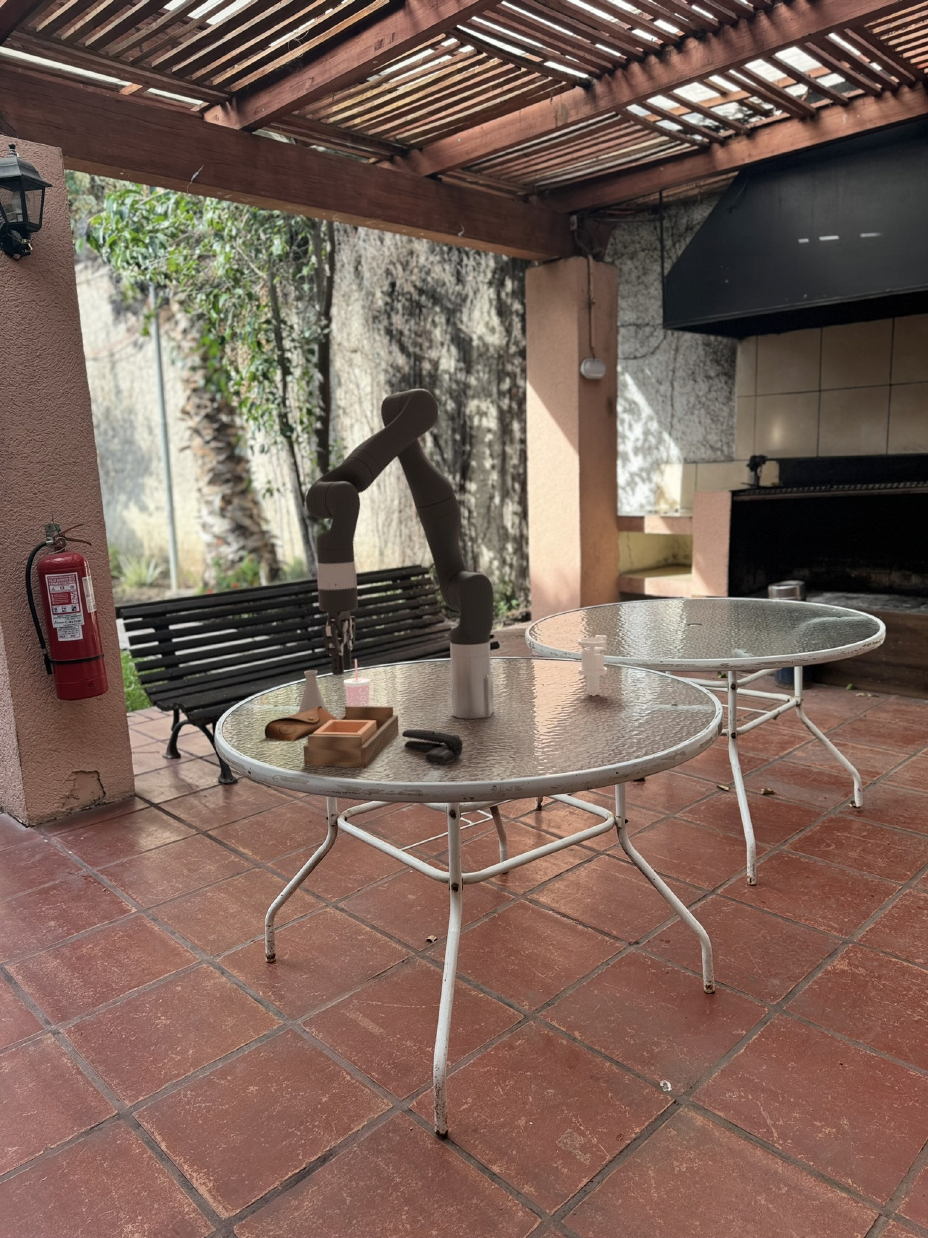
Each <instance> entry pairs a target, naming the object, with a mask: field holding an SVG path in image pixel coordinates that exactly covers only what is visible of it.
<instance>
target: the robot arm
mask: <svg viewBox="0 0 928 1238" xmlns="http://www.w3.org/2000/svg"><path fill="white" fill-rule="evenodd" d="M380 415H381V420H382V424H383V428H382V429H381V430H379V431H377V432H376V433H374V434H373V435H371V436H369V437H368V438H367V439H365V440H364V441H362V443H360V444H359V445H357V446H356V447H355V448H354V449H353V450H352V451H351V452H350V453H349V455H348V456H346V458H345V459H344V460H342V462H341V464H339V465H338V466H336V467H334V468H332V469H331V470H329V471H328V472H327V473H325V474H324V475H322V476H321V477H320V478H318V479H317V480H315V482H313V483H312V484H311V485H310V487H309V488H308V491H307V493H306V495H305V496H306V497H305V506H306V510H307V512H309V514H310V515H312V517H314V518H317V519H322V520H325V519H327V520H329V519H331V520H332V521H331V524H330V528H329V530H327V531H324V532H321V533H319V534H318V536H317V538H316V553H317V555H316V556H317V574H316V575H317V576H316V577H317V578H316V579H317V590H318V591H317V593H318V608H319V610H320V611H322V612H326V613H327V620H326V625H322V627H321V631H322V637H323V643H324V648H325V654H326V655H329V656H330V659H331V660H330V661H331V673H332V674H333V675H336V676H337V675H338V676H339V675H340V676H342V675H343V674H345V673H344V672H345V670H347V671H348V670H351V669H352V650H353V646H355V644H356V642H355V641H356V620H357V618H356V616H354V615H353V616H352V615H351V611H354V610H356V609H358V606H359V604H358V603H359V602H358V599H359V598H358V581H357V580H358V579H357V570H356V567H355V566H356V565H355V550H354V539H355V535H356V530H357V524H358V519H359V515H360V511H361V500H360V499H361V498H360V494H361V493H363V492H365V491H366V490H367V489H368V488H369V487H370V486H371V485H372V484H373V483H374V482H375V480H376V479H377V478H378V477H379V476H380V474H382V472H383V471H384V470H385V469H386V468H387V467H388V466H389V465H390V464H391V462H393V461H394V460H395V459H396V458H397V460H398V461H399V463H400V465H401V469H402V471H403V474H404V477H405V479H406V481H407V484H408V488H409V490H410V493H411V496H412V501H413V503H414V506H415V510H416V512H417V515H418V518H419V522H420V524H421V526H422V529H423V531H424V535H425V538H426V541H427V544H428V548H429V550H430V554H431V557H432V561H433V563H434V568H435V574H436V577H437V583H438V586H439V590H440V595H441V597H442V600H443V602H444V603H445V604H446V606H447V607H448V608H449V609H451V610H453V611H456V612H459V623H458V625H457V626H455V627H453V628H451V630H450V631H449V649H450V650H449V651H450V652H449V653H450V681H451V684H450V685H451V708H452V716H453V717H455V718H459V719H467V720H468V719H470V720H471V719H481V718H491V716H492V714H493V713H494V711H495V709H494V679H493V677H494V676H493V675H494V674H493V671H492V669H491V668H492V667H491V663H492V662H491V632H492V629H493V625H494V589H493V586H492V582H491V580H490V579H489V577H488V576H486V575H485V574H483V573H480V572H474V571H468V570H467V568H466V566H465V564H464V561H463V558H462V554H461V550H460V544H459V543H460V533H461V528H462V527H461V526H462V525H461V524H462V513H461V508H460V506H459V502H458V499H457V496H456V491H455V490H454V488H453V486H452V483H451V482H450V481H449V479H448V478H447V477H446V476H445V475H444V474H443V472H442V471H441V470H440V469H438V467H436V466H435V465H434V463H433V462H432V461H431V460H430V459H429V458H428V457H427V455H426V453H425V452H424V450H423V448H422V446H421V443H420V441H419V438H420V437H422V436H423V435H425V434H427V432H428V431H430V430H431V429H432V428H433V427H434V426H435V424H436V423H437V421H438V416H439V406H438V402H437V399H436V398H435V396H434V395H433V394H432V392H430V391H429V390H427V389H425V388H414V389H409V390H405V391H401V392H397V393H396V392H395V393H393V394H389V395H388V396H386V397H384V398H383V400H382V402H381V405H380Z"/></svg>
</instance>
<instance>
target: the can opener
mask: <svg viewBox="0 0 928 1238" xmlns="http://www.w3.org/2000/svg"><path fill="white" fill-rule="evenodd" d="M401 735H402V737H404V738H409V739H414V740H408V741H405V744H404V747H405V748H406V749H409V750H412V751H413V750H414V751H417V752H427V753H426V754H425V756H424V759H426V761H427V762H429V763H432V764H434V763H436V764H435V765H445V764H448V763H450V762H454V761H455V760H456V759H458V758H459V757H460V756H461V755H462V752H463V740H462V739H461V736H460V734H449V733H444V732H441V731H440V730H438V729H436V730H428V729H407V730H404V731H403V732H402V734H401ZM415 739H416V740H415Z"/></svg>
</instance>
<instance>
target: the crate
mask: <svg viewBox="0 0 928 1238" xmlns="http://www.w3.org/2000/svg"><path fill="white" fill-rule="evenodd" d="M376 732H377V728H376V720H329V721H328V722H327V723H325V724H324V725H323V726H322V727H320V728H319V729H318V730H317V731H315V732H314V733H313V734H312V735H351V736H362V745H363V744H364V743H365V742H366V741H368V740H369V739H370V738H371V737H372V736H373V735H374V734H375V733H376Z"/></svg>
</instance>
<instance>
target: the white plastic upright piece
mask: <svg viewBox="0 0 928 1238" xmlns="http://www.w3.org/2000/svg"><path fill="white" fill-rule="evenodd" d="M577 646H580V647H584V648H582V650H581V655H580V656H581V657H580V658H581V659H580V660H581V666H580V667H578V674H579V675H580V676H586V692H587V691H592V692H594V691H599V692H600V676H604V675H607V674H608V668H607V667H605V652H604V651H608V637H607V635H599V634H596V635H595V636H594V637H585V638H584V637H583V638H579V639H578V640H577ZM601 651H602V653H601Z"/></svg>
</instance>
